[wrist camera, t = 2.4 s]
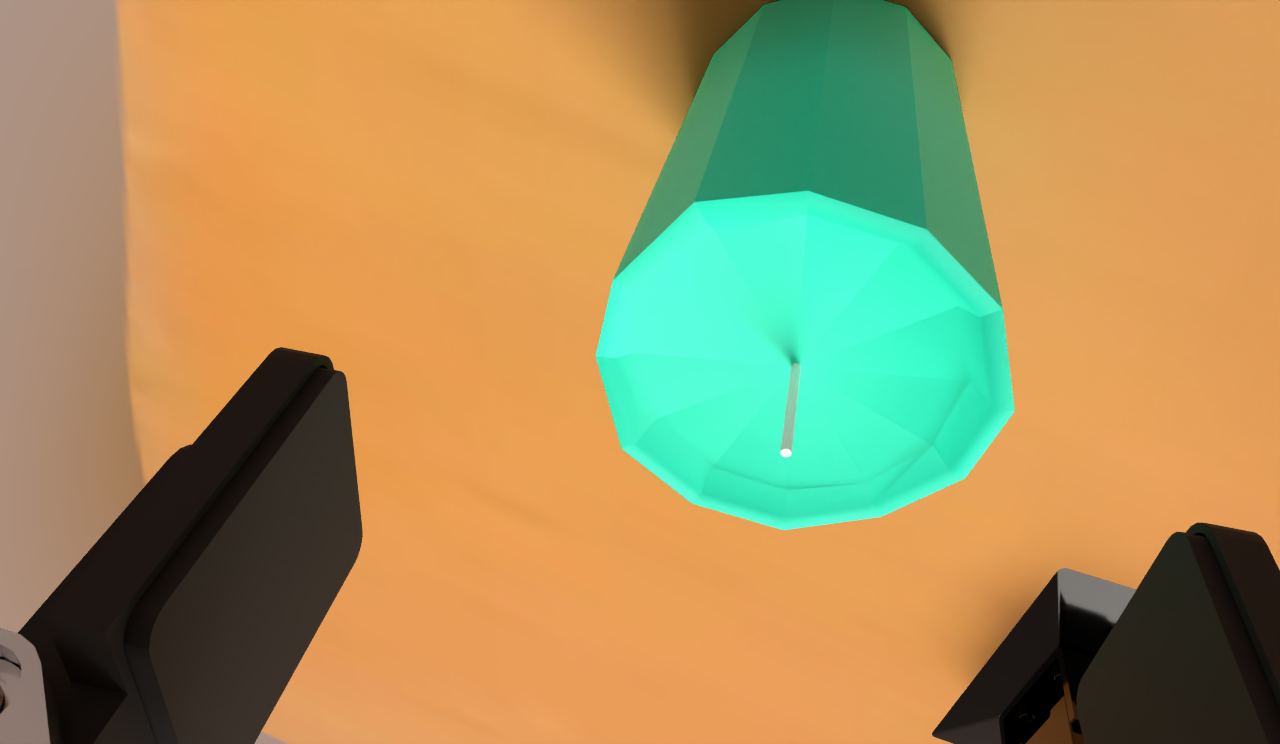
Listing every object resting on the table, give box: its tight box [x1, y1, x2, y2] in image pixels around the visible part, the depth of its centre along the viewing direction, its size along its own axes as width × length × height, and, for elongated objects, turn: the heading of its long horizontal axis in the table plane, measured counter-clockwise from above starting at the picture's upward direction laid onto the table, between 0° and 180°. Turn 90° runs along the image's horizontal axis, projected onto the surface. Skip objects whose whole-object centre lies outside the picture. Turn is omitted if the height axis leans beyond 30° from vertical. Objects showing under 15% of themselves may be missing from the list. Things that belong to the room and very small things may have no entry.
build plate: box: [932, 568, 1136, 744], centre depth 30 cm, size 12×7×5 cm, turn 166°
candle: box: [596, 0, 1015, 530], centre depth 17 cm, size 6×6×12 cm
